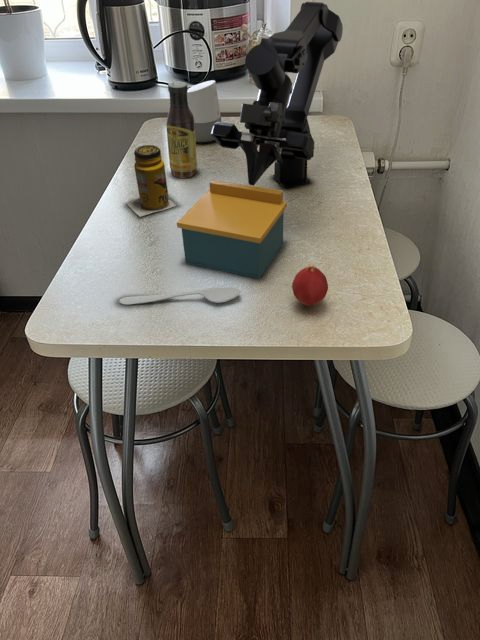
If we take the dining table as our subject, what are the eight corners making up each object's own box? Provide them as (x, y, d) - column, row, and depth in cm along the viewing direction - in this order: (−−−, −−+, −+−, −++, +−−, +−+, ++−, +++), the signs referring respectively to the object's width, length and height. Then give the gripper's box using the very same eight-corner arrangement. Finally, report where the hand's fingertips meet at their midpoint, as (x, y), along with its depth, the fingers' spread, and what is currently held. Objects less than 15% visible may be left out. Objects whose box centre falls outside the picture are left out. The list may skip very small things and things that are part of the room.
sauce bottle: (166, 176, 134) (154, 86, 120) (178, 166, 138) (168, 77, 125) (191, 181, 132) (182, 90, 119) (203, 170, 136) (195, 80, 123)
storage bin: (214, 230, 115) (211, 195, 110) (283, 243, 111) (283, 207, 106) (185, 263, 107) (181, 226, 101) (259, 278, 102) (258, 241, 97)
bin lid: (210, 193, 111) (208, 178, 109) (287, 206, 106) (287, 191, 104) (177, 227, 101) (175, 212, 99) (260, 243, 97) (260, 227, 95)
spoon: (241, 305, 97) (241, 297, 96) (117, 309, 96) (115, 301, 95) (241, 290, 100) (240, 282, 99) (121, 294, 100) (119, 286, 98)
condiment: (176, 206, 123) (169, 151, 115) (139, 217, 120) (130, 161, 112) (161, 193, 128) (153, 139, 120) (125, 203, 124) (115, 149, 116)
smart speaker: (196, 129, 155) (191, 74, 145) (228, 134, 152) (225, 77, 143) (180, 143, 148) (173, 85, 139) (212, 147, 146) (208, 89, 136)
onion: (289, 295, 99) (290, 255, 93) (323, 293, 99) (326, 253, 94) (294, 316, 94) (295, 275, 89) (329, 314, 95) (332, 273, 89)
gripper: (211, 76, 103) (189, 160, 103) (311, 87, 98) (288, 175, 98) (231, 106, 114) (211, 183, 114) (322, 118, 109) (301, 198, 109)
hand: (251, 184), depth 108 cm, fingers closed
